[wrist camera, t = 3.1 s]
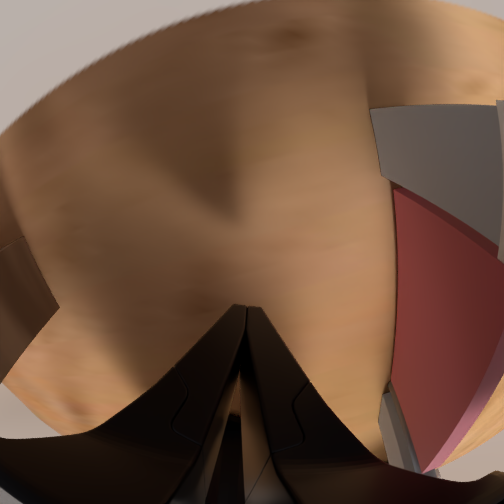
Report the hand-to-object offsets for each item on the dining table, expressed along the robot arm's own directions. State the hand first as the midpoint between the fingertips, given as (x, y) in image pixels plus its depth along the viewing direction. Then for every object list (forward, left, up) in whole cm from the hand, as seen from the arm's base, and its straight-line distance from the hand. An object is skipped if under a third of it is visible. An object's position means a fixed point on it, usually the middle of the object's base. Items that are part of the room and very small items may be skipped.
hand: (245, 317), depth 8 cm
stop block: (+10, +9, -3) cm, 14 cm away
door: (-7, -3, -3) cm, 8 cm away
